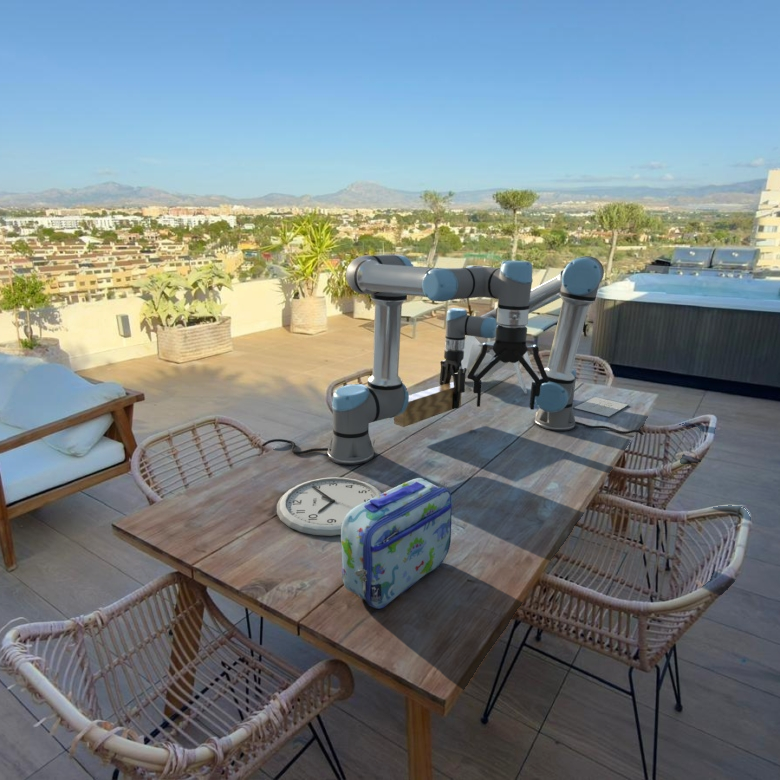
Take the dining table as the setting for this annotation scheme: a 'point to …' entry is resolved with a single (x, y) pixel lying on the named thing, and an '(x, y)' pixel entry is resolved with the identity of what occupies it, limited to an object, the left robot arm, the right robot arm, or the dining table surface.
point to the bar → (427, 404)
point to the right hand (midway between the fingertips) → (450, 405)
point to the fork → (441, 485)
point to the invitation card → (601, 406)
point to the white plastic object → (472, 353)
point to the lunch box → (395, 540)
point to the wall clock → (323, 504)
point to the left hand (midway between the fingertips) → (504, 406)
